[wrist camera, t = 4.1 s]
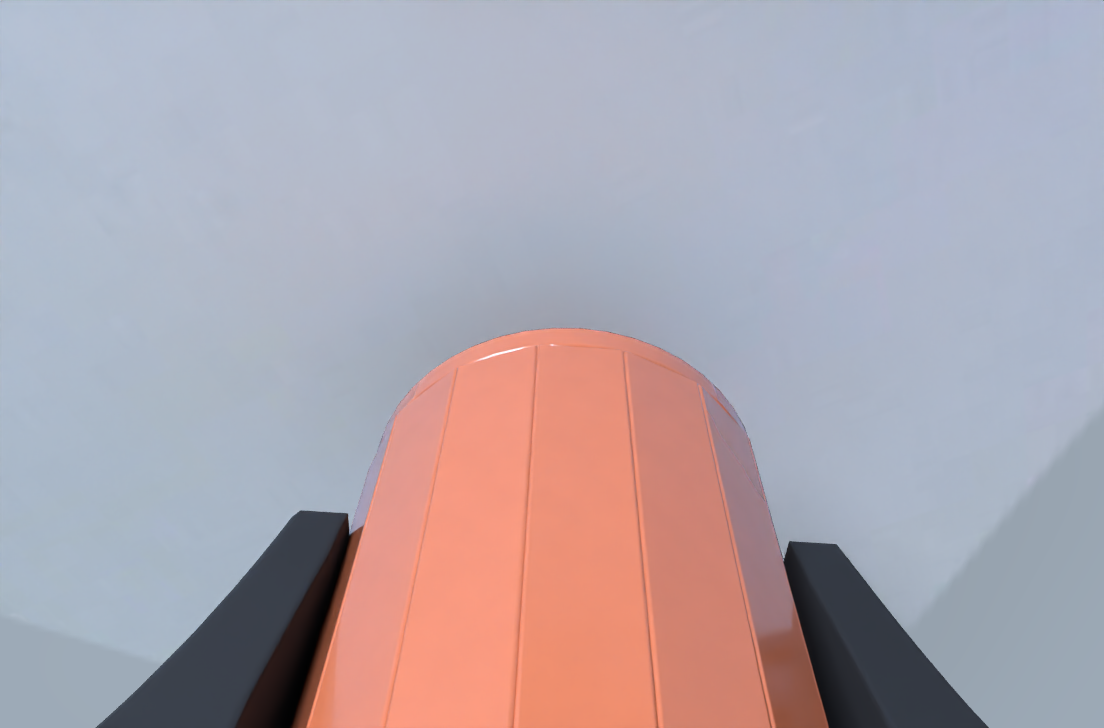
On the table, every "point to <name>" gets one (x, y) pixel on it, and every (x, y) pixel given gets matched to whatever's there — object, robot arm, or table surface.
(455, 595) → the cup
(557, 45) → the table surface
